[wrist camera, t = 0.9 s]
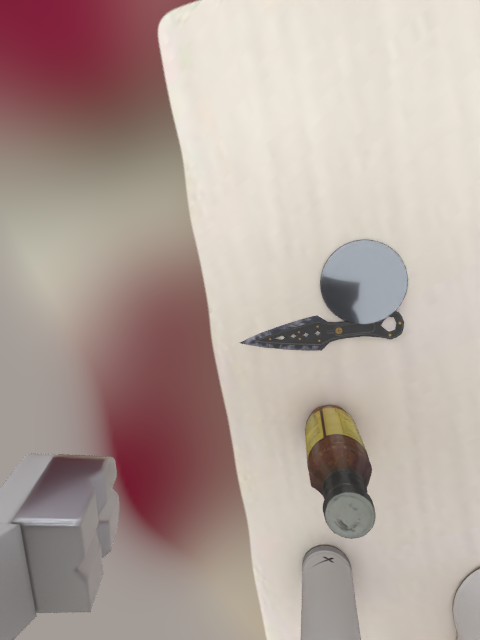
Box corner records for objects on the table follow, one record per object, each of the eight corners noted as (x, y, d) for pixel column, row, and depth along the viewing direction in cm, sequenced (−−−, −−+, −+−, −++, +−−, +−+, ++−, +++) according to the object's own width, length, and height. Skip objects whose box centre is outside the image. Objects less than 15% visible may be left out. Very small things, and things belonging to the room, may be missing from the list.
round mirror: (425, 276, 49) (426, 277, 48) (366, 340, 51) (367, 341, 50) (359, 222, 49) (359, 222, 49) (303, 287, 51) (303, 288, 51)
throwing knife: (405, 339, 50) (406, 340, 50) (242, 359, 54) (241, 360, 53) (400, 304, 50) (401, 304, 49) (237, 325, 53) (236, 326, 53)
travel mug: (319, 533, 55) (324, 681, 35) (360, 564, 55) (389, 732, 35) (291, 566, 56) (281, 726, 37) (331, 597, 56) (343, 775, 36)
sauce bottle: (316, 456, 54) (320, 564, 34) (297, 411, 53) (291, 495, 34) (365, 440, 52) (398, 543, 33) (347, 395, 52) (369, 471, 33)
